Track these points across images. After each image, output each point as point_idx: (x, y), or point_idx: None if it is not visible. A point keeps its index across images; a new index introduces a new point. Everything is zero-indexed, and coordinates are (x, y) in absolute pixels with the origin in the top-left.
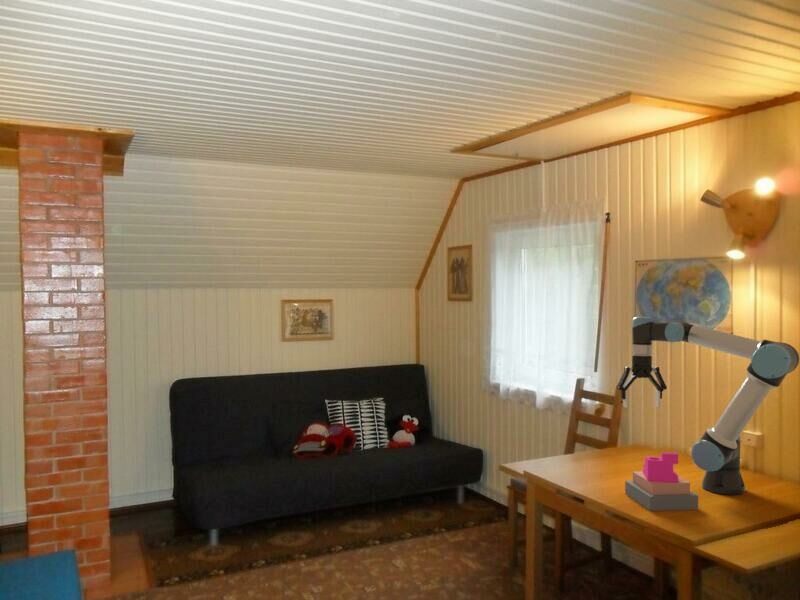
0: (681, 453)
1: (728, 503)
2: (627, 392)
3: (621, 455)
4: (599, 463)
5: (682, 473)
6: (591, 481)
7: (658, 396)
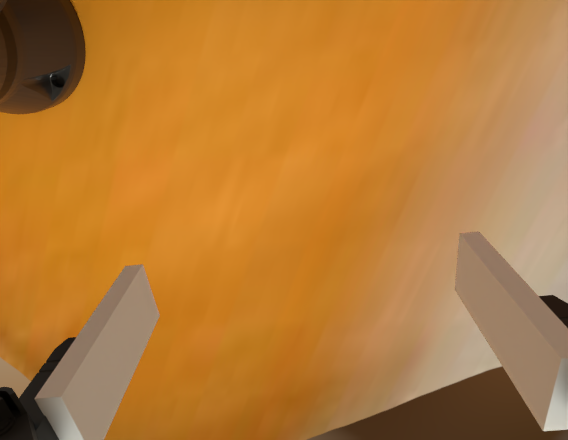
0: None
1: None
2: (561, 349)
3: (254, 398)
4: (350, 326)
5: (118, 230)
6: (470, 127)
7: (93, 340)
